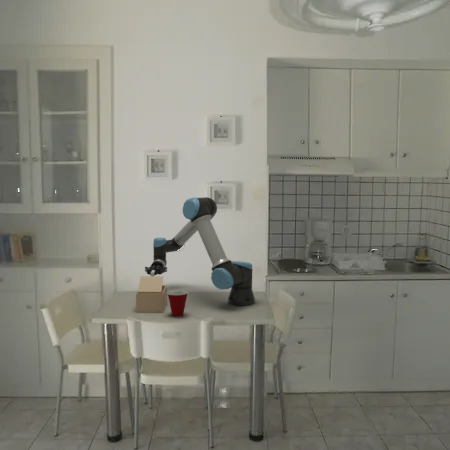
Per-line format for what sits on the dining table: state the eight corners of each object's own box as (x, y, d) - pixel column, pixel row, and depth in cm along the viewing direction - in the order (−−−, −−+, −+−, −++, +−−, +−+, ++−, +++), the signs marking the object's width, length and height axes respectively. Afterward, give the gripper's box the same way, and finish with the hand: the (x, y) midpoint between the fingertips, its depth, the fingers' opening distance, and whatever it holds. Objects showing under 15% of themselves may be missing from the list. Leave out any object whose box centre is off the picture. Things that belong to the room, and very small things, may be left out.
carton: (166, 303, 259) (166, 285, 258) (163, 312, 241) (163, 293, 240) (141, 302, 259) (141, 285, 258) (136, 312, 241) (136, 293, 240)
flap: (161, 292, 241) (163, 277, 248) (161, 291, 241) (163, 276, 248) (138, 292, 241) (140, 277, 248) (138, 291, 241) (140, 276, 248)
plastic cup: (183, 310, 245) (183, 288, 243) (191, 316, 235) (191, 292, 234) (163, 313, 239) (163, 290, 238) (171, 319, 230) (171, 295, 229)
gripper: (168, 273, 274) (164, 281, 250) (146, 272, 273) (139, 281, 250) (168, 260, 273) (164, 268, 249) (146, 260, 273) (139, 267, 249)
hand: (152, 274), depth 250 cm, fingers closed
